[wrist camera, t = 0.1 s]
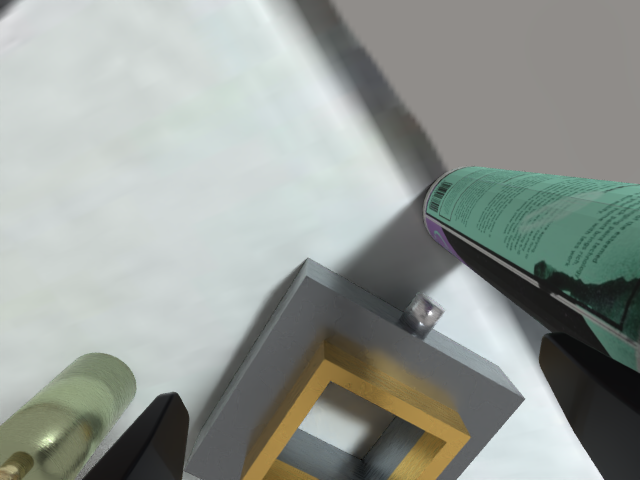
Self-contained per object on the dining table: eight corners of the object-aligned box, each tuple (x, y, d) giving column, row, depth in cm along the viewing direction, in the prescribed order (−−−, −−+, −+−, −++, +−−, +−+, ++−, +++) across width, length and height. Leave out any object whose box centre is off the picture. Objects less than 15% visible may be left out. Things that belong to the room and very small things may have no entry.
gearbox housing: (377, 515, 30) (390, 596, 24) (200, 431, 28) (172, 498, 22) (516, 345, 26) (566, 396, 21) (323, 232, 24) (324, 256, 19)
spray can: (426, 256, 24) (851, 675, 5) (417, 173, 23) (946, 304, 4) (509, 242, 24) (1288, 622, 5) (505, 158, 23) (1554, 212, 3)
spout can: (119, 423, 28) (12, 573, 18) (56, 393, 27) (-91, 532, 17) (147, 373, 27) (49, 503, 17) (82, 341, 26) (-59, 457, 16)
